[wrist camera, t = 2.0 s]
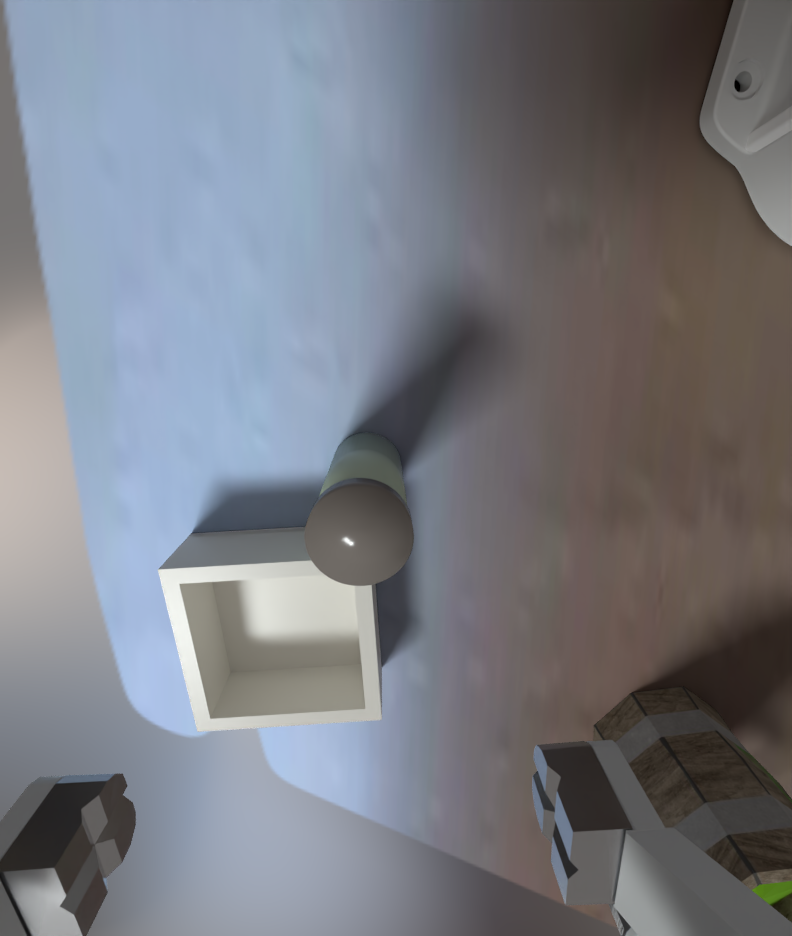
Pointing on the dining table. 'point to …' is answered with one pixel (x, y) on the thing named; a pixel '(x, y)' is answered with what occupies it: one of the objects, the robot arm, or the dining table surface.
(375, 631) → the bin
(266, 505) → the dining table surface
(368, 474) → the spice jar
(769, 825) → the mug
